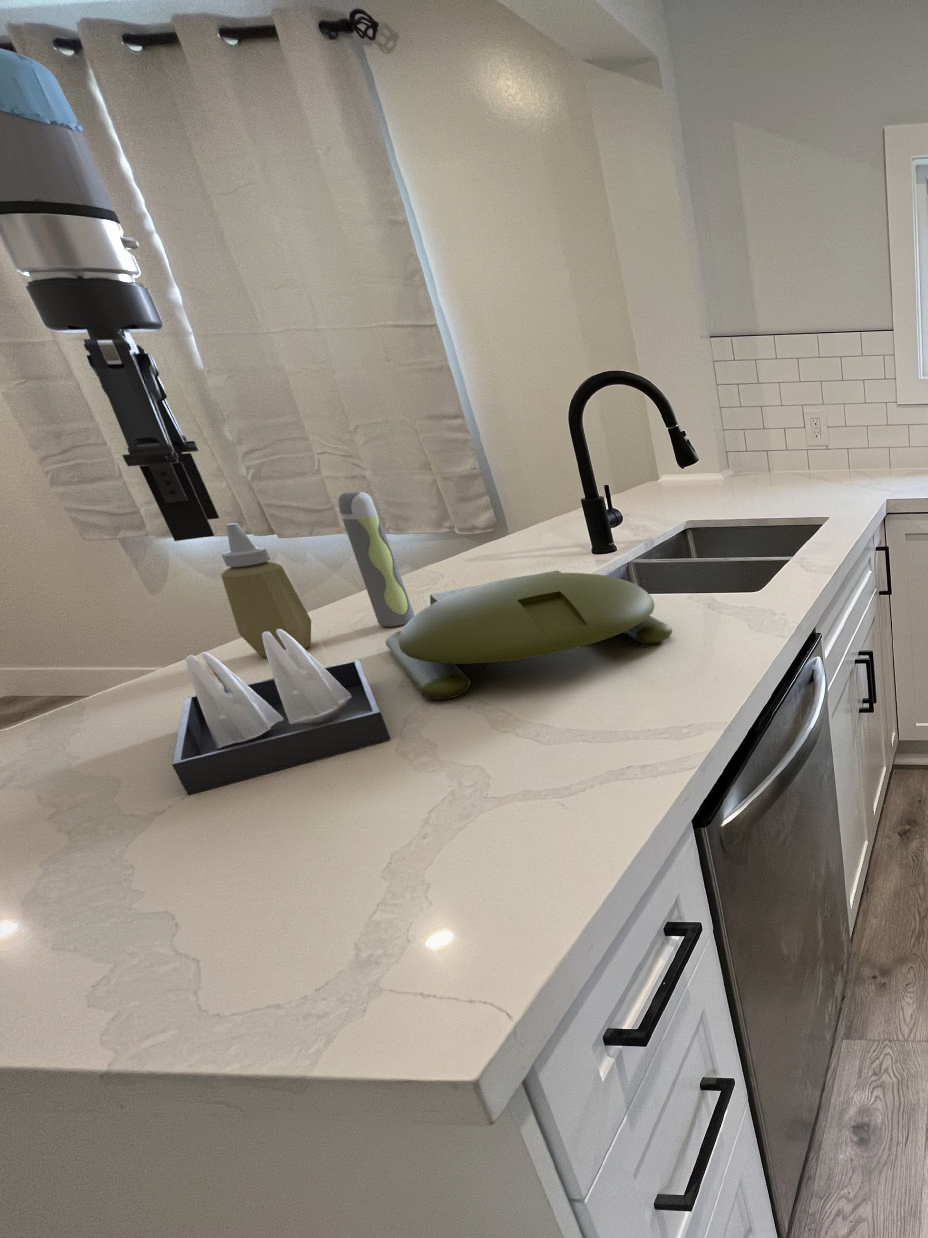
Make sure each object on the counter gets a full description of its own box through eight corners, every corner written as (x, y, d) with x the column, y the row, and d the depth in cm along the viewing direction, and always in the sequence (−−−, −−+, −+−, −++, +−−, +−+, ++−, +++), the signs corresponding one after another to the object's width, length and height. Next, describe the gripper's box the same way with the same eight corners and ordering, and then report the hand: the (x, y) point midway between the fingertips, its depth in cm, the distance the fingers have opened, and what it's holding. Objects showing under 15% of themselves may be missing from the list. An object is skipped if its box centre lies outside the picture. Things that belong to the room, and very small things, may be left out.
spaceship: (385, 648, 107) (361, 581, 103) (603, 600, 126) (590, 541, 122) (440, 724, 83) (410, 641, 79) (699, 651, 102) (686, 580, 98)
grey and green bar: (423, 620, 119) (379, 490, 111) (392, 629, 115) (344, 495, 107) (403, 617, 121) (359, 489, 113) (372, 626, 117) (323, 494, 109)
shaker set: (358, 709, 87) (322, 618, 82) (352, 723, 84) (314, 628, 79) (226, 734, 82) (180, 638, 78) (214, 750, 79) (165, 650, 74)
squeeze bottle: (234, 660, 105) (174, 530, 97) (288, 640, 112) (237, 518, 105) (283, 661, 104) (226, 530, 96) (334, 641, 111) (286, 518, 103)
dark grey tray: (198, 723, 86) (185, 697, 85) (368, 683, 95) (359, 659, 94) (187, 795, 71) (171, 764, 70) (390, 739, 80) (380, 711, 79)
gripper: (128, 264, 58) (247, 539, 67) (157, 293, 76) (248, 508, 85) (-17, 261, 54) (131, 555, 63) (50, 293, 71) (158, 519, 80)
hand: (199, 529), depth 74 cm, fingers open, 13 cm apart
